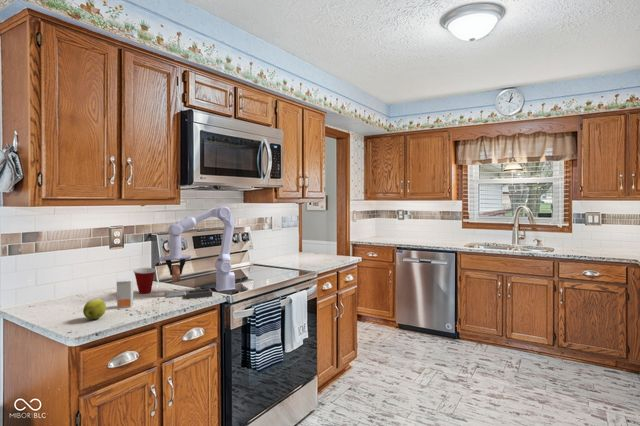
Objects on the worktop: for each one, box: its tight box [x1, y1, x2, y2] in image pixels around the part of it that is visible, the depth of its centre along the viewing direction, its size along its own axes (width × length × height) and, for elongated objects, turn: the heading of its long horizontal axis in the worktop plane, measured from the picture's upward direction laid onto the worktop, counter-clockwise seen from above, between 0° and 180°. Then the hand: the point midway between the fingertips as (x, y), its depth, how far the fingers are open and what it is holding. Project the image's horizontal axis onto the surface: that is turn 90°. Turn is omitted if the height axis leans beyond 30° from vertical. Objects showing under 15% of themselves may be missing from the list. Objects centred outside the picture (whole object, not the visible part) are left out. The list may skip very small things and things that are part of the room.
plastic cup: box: [133, 267, 157, 295], centre depth 211 cm, size 11×11×12 cm
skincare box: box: [116, 278, 134, 309], centre depth 185 cm, size 6×4×12 cm
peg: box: [171, 264, 181, 283], centre depth 205 cm, size 4×4×8 cm
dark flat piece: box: [185, 286, 213, 300], centre depth 204 cm, size 12×9×3 cm
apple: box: [82, 298, 107, 320], centre depth 167 cm, size 8×9×8 cm
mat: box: [164, 290, 187, 299], centre depth 206 cm, size 9×9×1 cm
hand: (175, 274), depth 206 cm, fingers closed on peg, 4 cm apart
